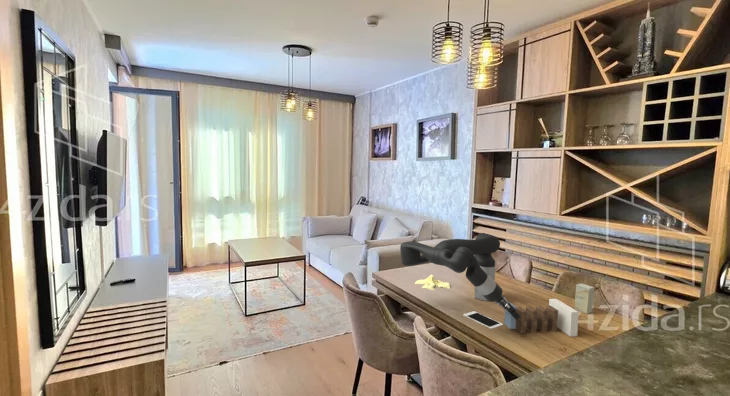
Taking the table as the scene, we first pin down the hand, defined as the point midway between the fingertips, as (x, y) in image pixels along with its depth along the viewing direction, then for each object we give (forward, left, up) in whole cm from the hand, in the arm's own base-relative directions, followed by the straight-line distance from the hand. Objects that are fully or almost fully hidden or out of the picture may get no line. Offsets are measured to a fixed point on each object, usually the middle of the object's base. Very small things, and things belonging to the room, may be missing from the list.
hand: (514, 314), depth 143 cm
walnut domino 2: (+6, +4, -7) cm, 10 cm away
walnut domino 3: (+10, +6, -7) cm, 14 cm away
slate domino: (-2, -1, -5) cm, 5 cm away
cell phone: (-13, +6, -7) cm, 16 cm away
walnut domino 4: (+14, +8, -7) cm, 18 cm away
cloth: (-45, +43, -8) cm, 63 cm away
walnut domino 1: (+2, +1, -7) cm, 7 cm away
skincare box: (+29, +35, -7) cm, 46 cm away
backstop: (+18, +11, -7) cm, 22 cm away
